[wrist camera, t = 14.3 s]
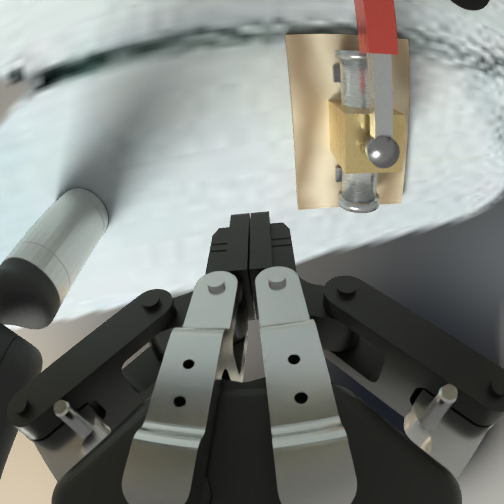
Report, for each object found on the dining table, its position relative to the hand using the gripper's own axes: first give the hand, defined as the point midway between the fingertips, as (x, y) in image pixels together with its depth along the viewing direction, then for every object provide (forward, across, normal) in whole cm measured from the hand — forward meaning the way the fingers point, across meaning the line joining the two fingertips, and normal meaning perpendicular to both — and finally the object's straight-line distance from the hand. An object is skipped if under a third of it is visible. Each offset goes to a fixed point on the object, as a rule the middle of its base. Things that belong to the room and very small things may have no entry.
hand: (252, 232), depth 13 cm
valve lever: (+19, -12, -4) cm, 23 cm away
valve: (+28, -12, +3) cm, 30 cm away
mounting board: (+29, -12, +3) cm, 32 cm away
